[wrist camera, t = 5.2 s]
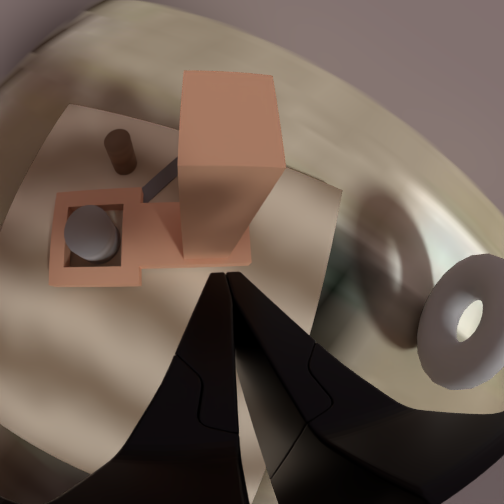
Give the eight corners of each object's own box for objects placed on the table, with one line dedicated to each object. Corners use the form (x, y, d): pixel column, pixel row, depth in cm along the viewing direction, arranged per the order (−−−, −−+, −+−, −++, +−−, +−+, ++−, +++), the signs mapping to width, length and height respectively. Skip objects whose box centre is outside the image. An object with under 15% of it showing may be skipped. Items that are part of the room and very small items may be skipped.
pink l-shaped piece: (55, 286, 15) (-81, 239, 4) (62, 198, 16) (-30, 84, 5) (249, 282, 18) (346, 223, 7) (243, 192, 19) (308, 54, 8)
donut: (424, 260, 23) (518, 229, 13) (448, 276, 23) (537, 253, 13) (391, 376, 20) (495, 393, 10) (419, 385, 20) (516, 400, 11)
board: (243, 505, 16) (256, 538, 11) (-27, 394, 13) (-58, 403, 9) (335, 196, 22) (363, 172, 18) (73, 112, 19) (59, 78, 15)
